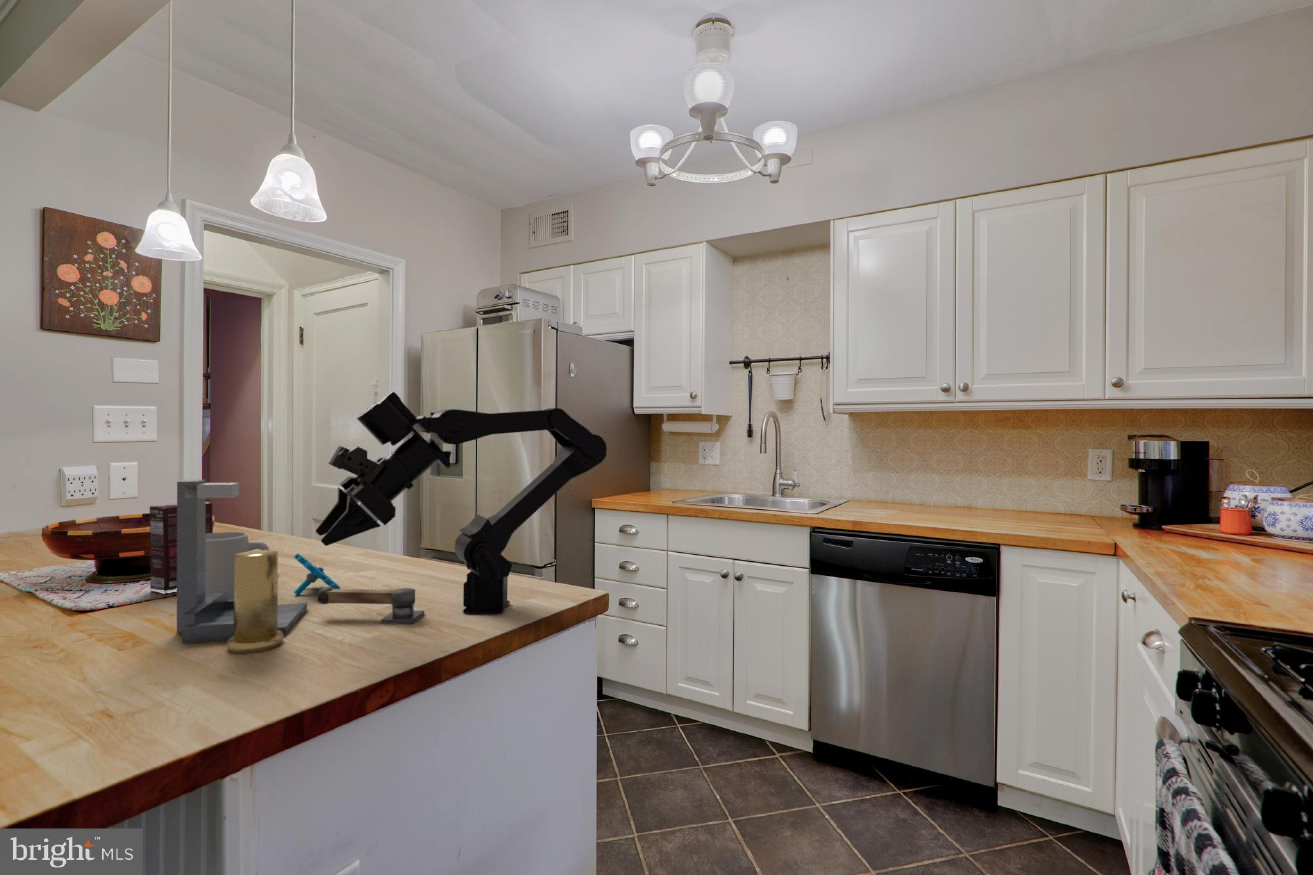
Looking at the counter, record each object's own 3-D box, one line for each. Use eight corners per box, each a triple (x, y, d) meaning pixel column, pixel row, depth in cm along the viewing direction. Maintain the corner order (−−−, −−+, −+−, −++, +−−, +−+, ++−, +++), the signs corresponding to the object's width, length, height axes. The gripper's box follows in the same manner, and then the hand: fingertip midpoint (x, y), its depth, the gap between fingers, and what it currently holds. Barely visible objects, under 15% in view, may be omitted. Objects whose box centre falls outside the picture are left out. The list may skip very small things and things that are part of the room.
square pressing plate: (424, 614, 103) (424, 601, 103) (412, 623, 98) (412, 609, 98) (394, 613, 103) (394, 600, 103) (380, 623, 98) (380, 609, 98)
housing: (292, 637, 91) (293, 549, 91) (264, 654, 84) (265, 559, 84) (247, 637, 91) (248, 548, 91) (215, 653, 84) (216, 558, 84)
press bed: (307, 609, 105) (308, 476, 105) (284, 636, 92) (285, 484, 91) (200, 615, 100) (200, 476, 100) (159, 645, 87) (160, 485, 87)
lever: (418, 602, 102) (418, 586, 102) (409, 608, 99) (410, 592, 99) (323, 600, 102) (324, 584, 102) (311, 606, 99) (312, 590, 99)
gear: (344, 587, 113) (300, 551, 110) (318, 614, 110) (272, 578, 107) (341, 582, 122) (300, 549, 119) (317, 607, 120) (274, 573, 117)
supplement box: (198, 581, 122) (198, 500, 121) (214, 584, 120) (214, 502, 119) (147, 592, 114) (148, 505, 113) (163, 595, 112) (164, 507, 111)
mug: (191, 606, 106) (191, 541, 105) (188, 595, 112) (189, 534, 112) (273, 595, 113) (273, 535, 113) (266, 585, 120) (267, 528, 120)
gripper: (357, 428, 104) (276, 493, 98) (376, 429, 88) (280, 508, 82) (404, 476, 108) (329, 542, 102) (430, 485, 92) (343, 564, 86)
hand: (320, 538), depth 93 cm, fingers open, 9 cm apart
